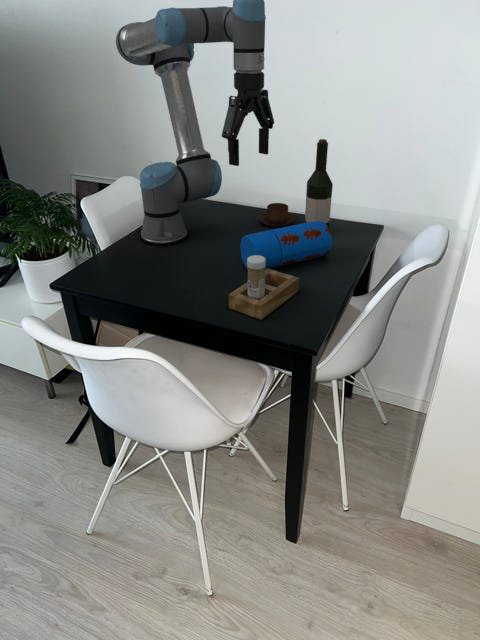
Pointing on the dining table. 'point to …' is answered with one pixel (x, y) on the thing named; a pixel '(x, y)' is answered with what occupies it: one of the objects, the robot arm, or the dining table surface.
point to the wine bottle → (319, 188)
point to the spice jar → (256, 276)
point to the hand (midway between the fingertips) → (249, 159)
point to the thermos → (288, 244)
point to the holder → (275, 294)
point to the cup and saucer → (277, 215)
